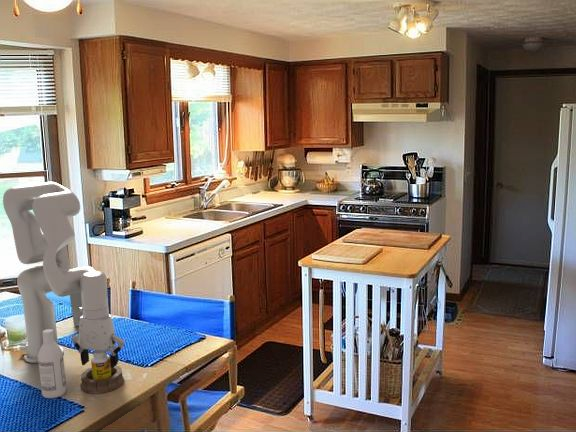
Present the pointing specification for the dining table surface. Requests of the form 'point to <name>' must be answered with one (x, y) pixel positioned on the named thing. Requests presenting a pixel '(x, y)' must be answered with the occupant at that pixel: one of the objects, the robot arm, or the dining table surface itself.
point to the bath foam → (51, 367)
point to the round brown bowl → (101, 381)
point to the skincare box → (76, 307)
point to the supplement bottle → (100, 365)
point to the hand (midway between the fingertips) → (99, 364)
